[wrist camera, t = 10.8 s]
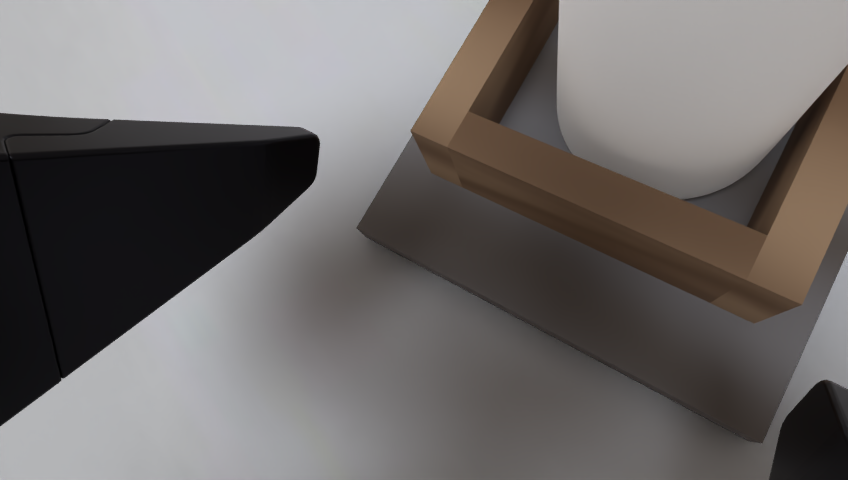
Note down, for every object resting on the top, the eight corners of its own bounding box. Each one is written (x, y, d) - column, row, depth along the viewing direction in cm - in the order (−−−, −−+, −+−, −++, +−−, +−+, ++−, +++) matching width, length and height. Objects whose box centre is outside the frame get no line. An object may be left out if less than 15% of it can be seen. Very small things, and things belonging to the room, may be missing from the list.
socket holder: (748, 441, 15) (815, 452, 11) (365, 236, 19) (322, 195, 16) (932, 33, 17) (1039, -71, 14) (550, -73, 21) (551, -175, 18)
